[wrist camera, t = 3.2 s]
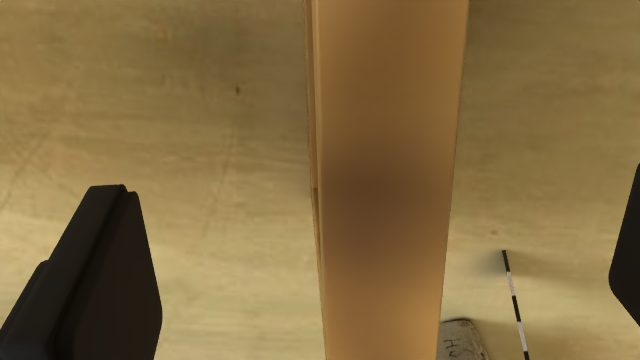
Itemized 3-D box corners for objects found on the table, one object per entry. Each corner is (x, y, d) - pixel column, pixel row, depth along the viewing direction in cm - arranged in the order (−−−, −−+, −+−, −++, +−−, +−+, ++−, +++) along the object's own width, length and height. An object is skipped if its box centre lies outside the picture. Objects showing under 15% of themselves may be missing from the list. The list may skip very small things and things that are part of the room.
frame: (393, -137, 18) (484, -136, 10) (384, 197, 24) (436, 365, 16) (296, -134, 18) (309, -130, 10) (311, 201, 23) (327, 372, 16)
